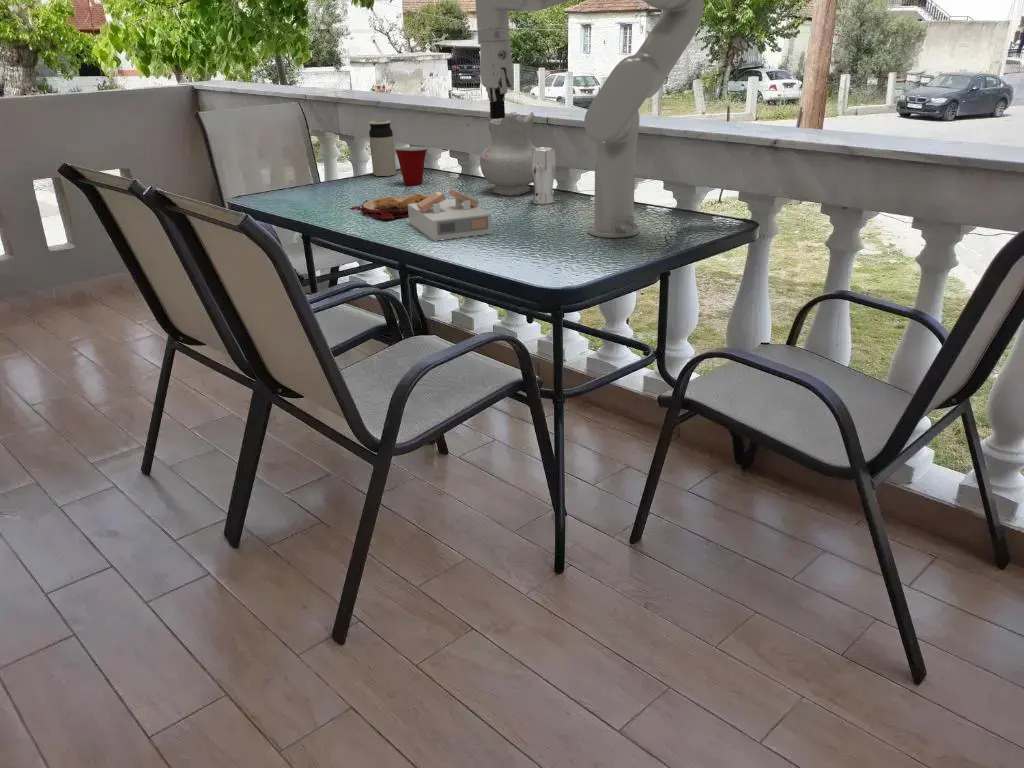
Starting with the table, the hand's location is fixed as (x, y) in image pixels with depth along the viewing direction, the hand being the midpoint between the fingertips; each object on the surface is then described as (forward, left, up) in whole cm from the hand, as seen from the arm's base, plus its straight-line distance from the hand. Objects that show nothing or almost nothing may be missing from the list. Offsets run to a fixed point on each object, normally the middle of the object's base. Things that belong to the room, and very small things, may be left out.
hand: (497, 118), depth 195 cm
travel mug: (+89, +8, -27) cm, 93 cm away
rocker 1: (+2, +18, -20) cm, 26 cm away
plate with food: (+33, +18, -27) cm, 47 cm away
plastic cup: (+67, +4, -27) cm, 72 cm away
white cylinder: (+19, -21, -27) cm, 39 cm away
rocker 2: (+2, +10, -20) cm, 22 cm away
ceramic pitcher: (+40, -19, -27) cm, 52 cm away
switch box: (+2, +14, -26) cm, 30 cm away
